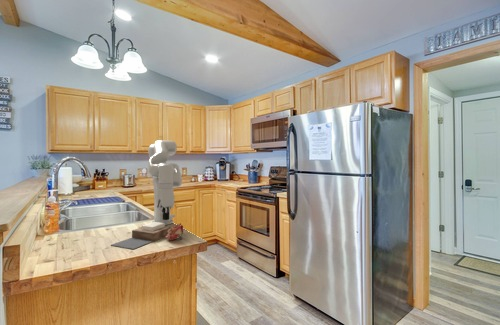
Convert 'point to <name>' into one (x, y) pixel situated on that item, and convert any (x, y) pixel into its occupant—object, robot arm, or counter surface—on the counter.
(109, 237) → the counter surface
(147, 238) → the block
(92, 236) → the counter surface
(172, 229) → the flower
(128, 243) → the mat
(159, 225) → the tile
